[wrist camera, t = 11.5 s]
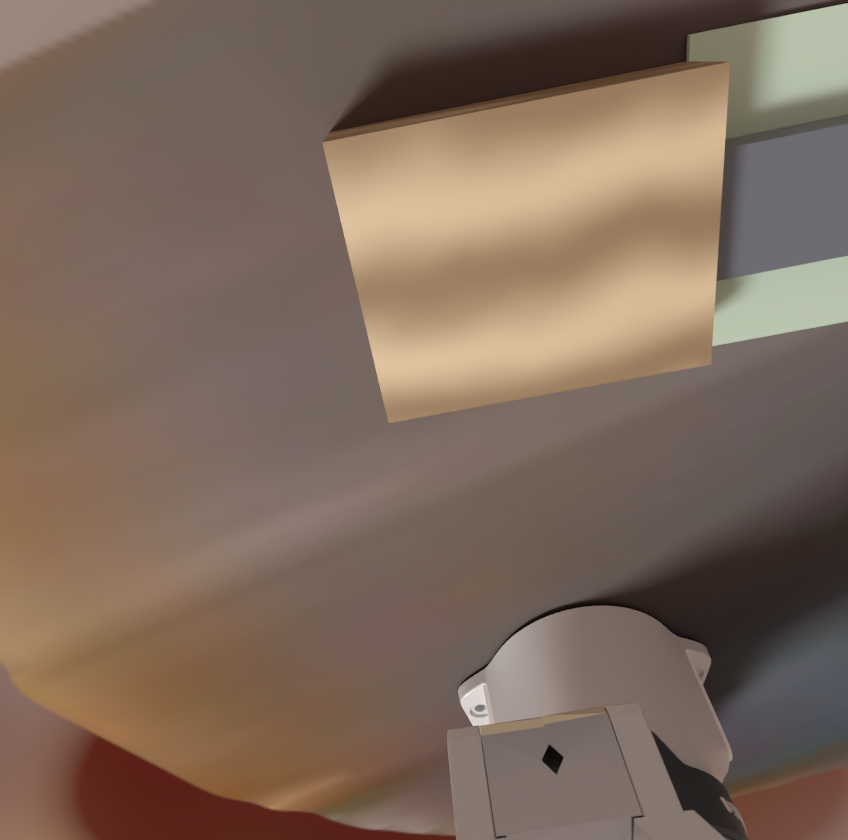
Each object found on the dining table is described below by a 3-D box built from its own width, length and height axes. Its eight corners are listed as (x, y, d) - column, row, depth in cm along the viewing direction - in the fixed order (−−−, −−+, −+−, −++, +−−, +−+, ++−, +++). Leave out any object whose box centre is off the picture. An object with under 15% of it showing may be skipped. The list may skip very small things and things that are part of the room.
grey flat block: (860, 237, 32) (888, 247, 30) (683, 272, 32) (700, 284, 30) (882, 107, 29) (915, 110, 27) (686, 147, 29) (705, 152, 27)
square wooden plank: (677, 333, 34) (710, 364, 31) (387, 386, 35) (388, 423, 31) (686, 61, 28) (730, 61, 24) (329, 132, 28) (322, 142, 25)
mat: (915, 306, 34) (919, 308, 34) (676, 349, 35) (679, 352, 34) (993, -27, 27) (998, -28, 26) (687, 34, 27) (690, 34, 27)
